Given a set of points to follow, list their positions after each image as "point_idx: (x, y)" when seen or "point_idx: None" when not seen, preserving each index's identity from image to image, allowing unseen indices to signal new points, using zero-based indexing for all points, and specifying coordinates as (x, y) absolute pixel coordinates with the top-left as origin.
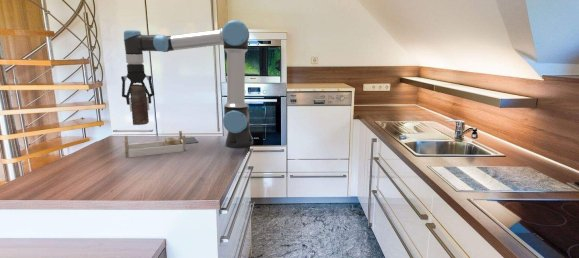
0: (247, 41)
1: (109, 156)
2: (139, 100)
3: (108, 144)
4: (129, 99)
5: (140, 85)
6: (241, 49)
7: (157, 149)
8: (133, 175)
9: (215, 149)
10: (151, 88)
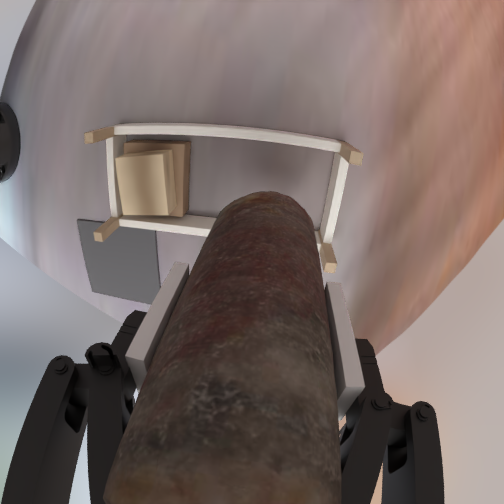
0: None
1: (390, 197)
2: (247, 313)
3: None
4: (358, 375)
5: None
6: None
7: (218, 126)
8: None
9: (45, 108)
10: (36, 435)
